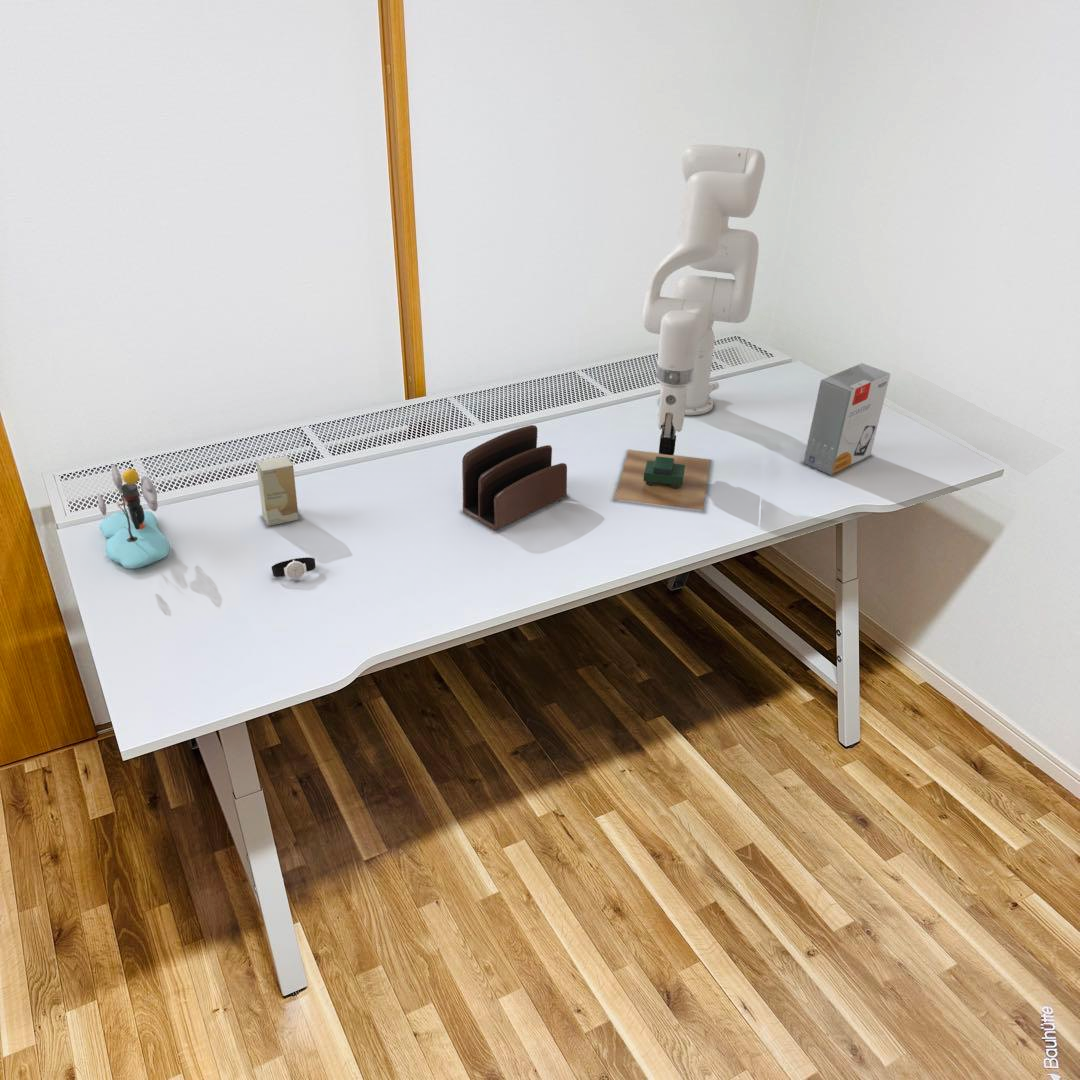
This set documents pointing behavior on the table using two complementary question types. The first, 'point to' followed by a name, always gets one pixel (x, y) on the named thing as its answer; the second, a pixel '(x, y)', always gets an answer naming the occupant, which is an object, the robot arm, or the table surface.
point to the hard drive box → (846, 418)
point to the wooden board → (660, 493)
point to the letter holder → (510, 478)
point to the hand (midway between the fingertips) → (666, 452)
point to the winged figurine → (133, 524)
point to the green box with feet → (664, 472)
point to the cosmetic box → (277, 490)
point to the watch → (293, 567)
